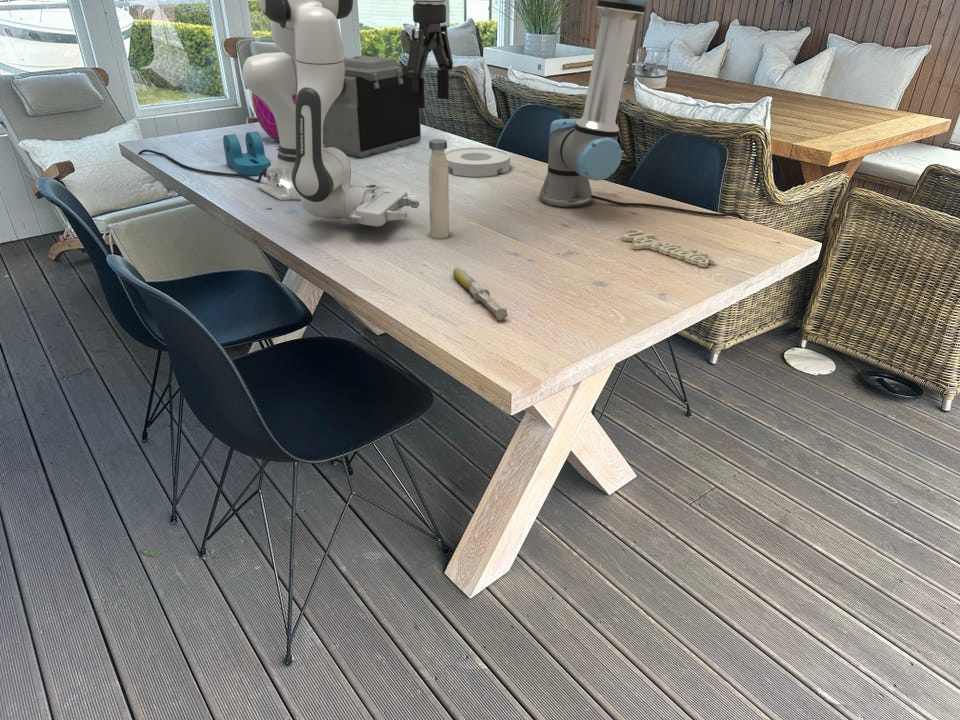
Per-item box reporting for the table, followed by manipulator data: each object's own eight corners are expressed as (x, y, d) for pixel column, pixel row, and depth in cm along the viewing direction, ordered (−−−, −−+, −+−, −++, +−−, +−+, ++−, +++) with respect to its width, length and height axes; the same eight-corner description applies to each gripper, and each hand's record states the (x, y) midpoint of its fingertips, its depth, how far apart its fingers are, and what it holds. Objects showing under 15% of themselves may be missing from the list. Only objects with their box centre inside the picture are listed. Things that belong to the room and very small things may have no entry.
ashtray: (444, 158, 243) (444, 146, 241) (509, 159, 243) (510, 147, 241) (439, 176, 224) (438, 163, 222) (510, 177, 223) (510, 165, 221)
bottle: (427, 234, 177) (424, 141, 166) (442, 230, 180) (441, 139, 168) (436, 239, 174) (434, 145, 162) (452, 236, 176) (451, 143, 165)
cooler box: (383, 133, 276) (378, 52, 261) (425, 141, 265) (422, 56, 250) (314, 150, 251) (304, 61, 235) (358, 160, 240) (350, 67, 224)
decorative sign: (608, 236, 174) (633, 227, 180) (608, 240, 175) (632, 231, 180) (698, 267, 157) (722, 256, 163) (698, 271, 158) (721, 260, 163)
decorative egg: (293, 132, 276) (283, 50, 261) (319, 140, 264) (310, 56, 249) (249, 139, 265) (236, 54, 250) (273, 148, 253) (261, 60, 238)
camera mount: (227, 164, 233) (221, 132, 227) (257, 160, 238) (252, 129, 233) (244, 176, 220) (239, 143, 215) (276, 172, 225) (271, 139, 220)
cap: (425, 147, 166) (425, 140, 165) (440, 145, 168) (440, 138, 167) (435, 151, 163) (435, 143, 162) (450, 148, 165) (450, 141, 164)
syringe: (449, 274, 155) (449, 263, 153) (465, 272, 156) (464, 260, 154) (490, 323, 135) (491, 310, 133) (508, 319, 136) (508, 307, 134)
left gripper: (343, 204, 168) (397, 210, 165) (375, 182, 185) (424, 186, 182) (346, 229, 171) (398, 235, 168) (377, 205, 188) (425, 209, 185)
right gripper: (419, 6, 142) (422, 113, 153) (466, 1, 162) (466, 96, 173) (387, 5, 145) (392, 110, 155) (437, 0, 165) (439, 93, 175)
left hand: (412, 209), depth 175 cm, fingers open, 8 cm apart
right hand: (431, 103), depth 164 cm, fingers open, 13 cm apart
